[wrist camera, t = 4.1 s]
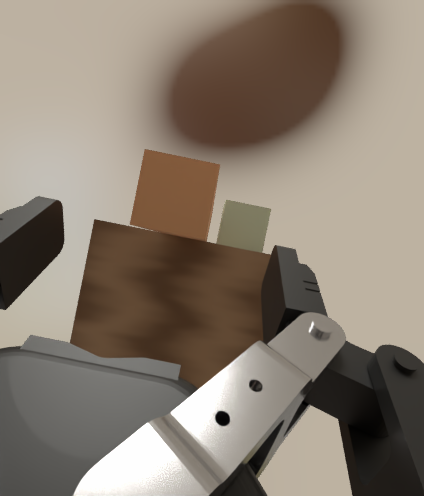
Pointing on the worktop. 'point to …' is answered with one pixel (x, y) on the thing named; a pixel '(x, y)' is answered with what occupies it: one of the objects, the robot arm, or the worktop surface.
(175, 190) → the brown block
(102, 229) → the stand
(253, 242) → the sage block
